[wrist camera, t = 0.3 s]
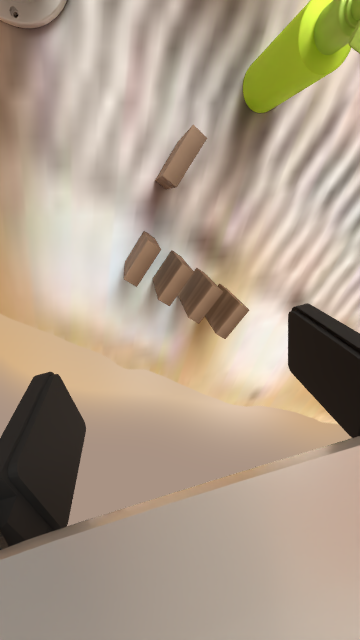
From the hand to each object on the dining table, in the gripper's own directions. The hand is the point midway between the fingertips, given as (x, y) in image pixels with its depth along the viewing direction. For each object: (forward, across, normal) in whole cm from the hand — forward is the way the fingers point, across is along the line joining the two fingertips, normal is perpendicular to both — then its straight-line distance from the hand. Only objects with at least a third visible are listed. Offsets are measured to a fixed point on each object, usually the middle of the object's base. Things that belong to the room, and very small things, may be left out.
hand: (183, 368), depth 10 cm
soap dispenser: (+35, -21, -16) cm, 44 cm away
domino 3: (+35, -3, +5) cm, 36 cm away
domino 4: (+35, -6, +10) cm, 37 cm away
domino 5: (+35, -10, +14) cm, 39 cm away
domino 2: (+35, -7, -9) cm, 37 cm away
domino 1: (+35, +1, +1) cm, 35 cm away
